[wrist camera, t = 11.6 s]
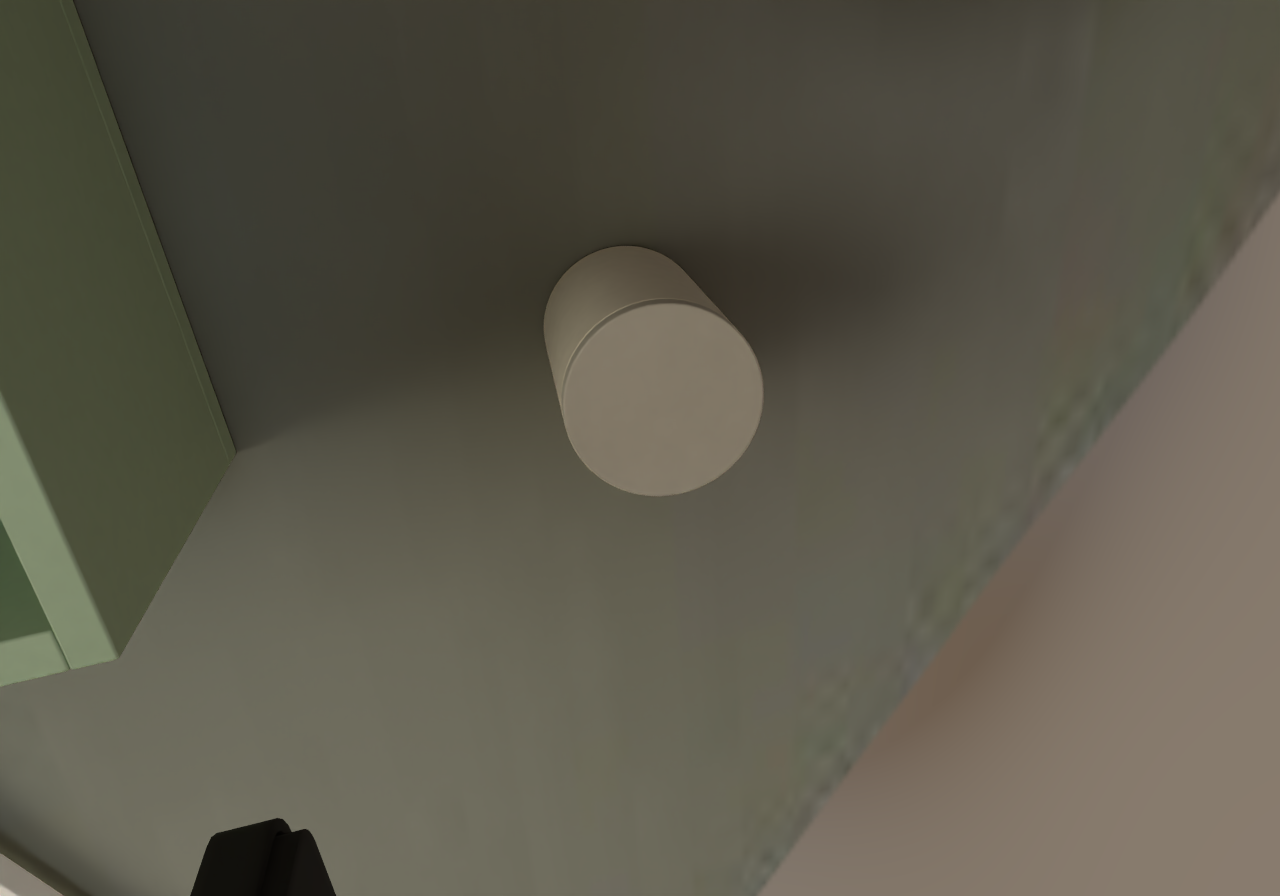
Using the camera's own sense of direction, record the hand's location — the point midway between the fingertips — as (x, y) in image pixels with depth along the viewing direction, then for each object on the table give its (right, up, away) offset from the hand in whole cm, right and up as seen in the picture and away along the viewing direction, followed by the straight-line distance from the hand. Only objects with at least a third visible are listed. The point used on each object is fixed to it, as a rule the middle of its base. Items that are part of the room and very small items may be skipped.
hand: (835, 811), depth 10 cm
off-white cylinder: (-2, +6, +16) cm, 18 cm away
